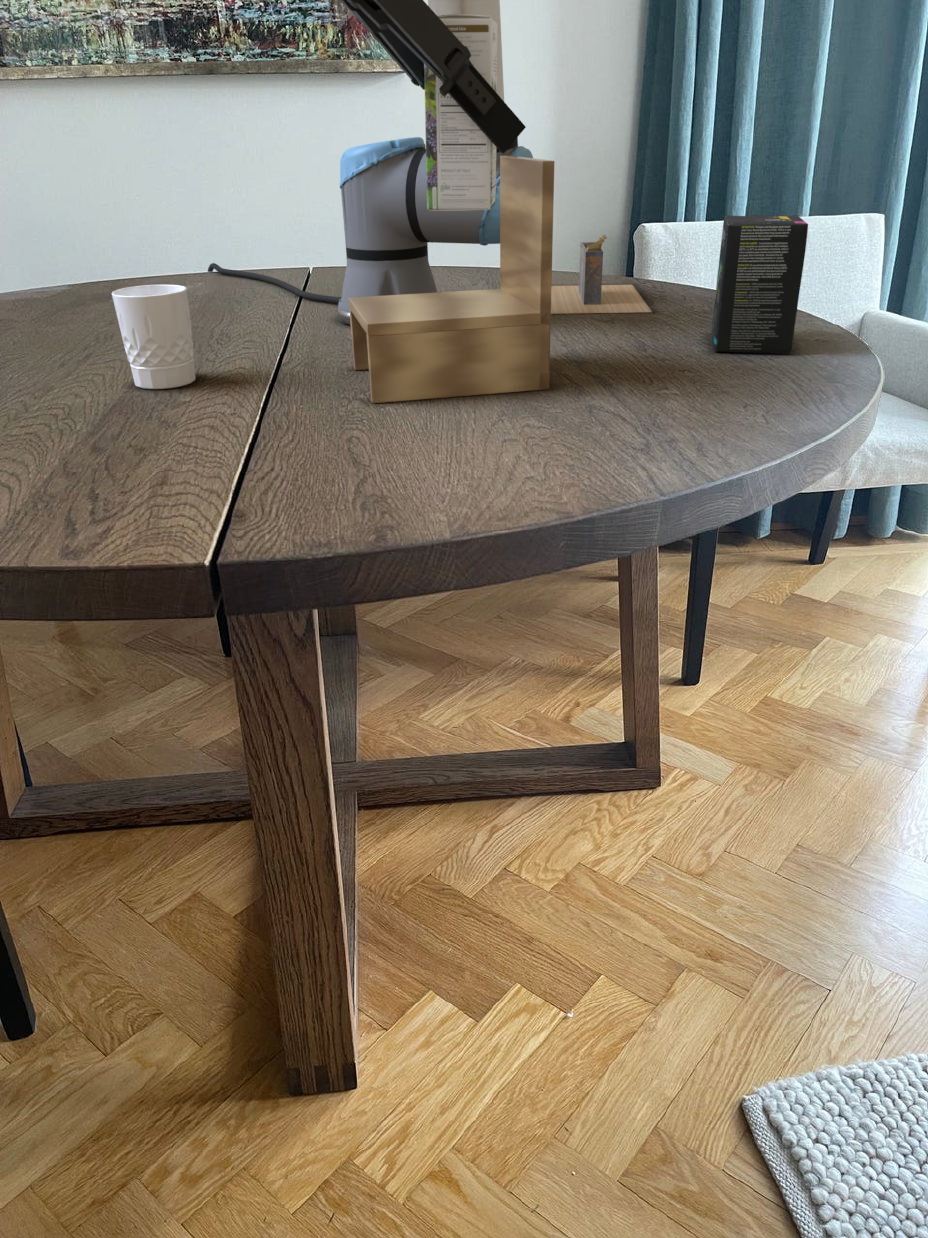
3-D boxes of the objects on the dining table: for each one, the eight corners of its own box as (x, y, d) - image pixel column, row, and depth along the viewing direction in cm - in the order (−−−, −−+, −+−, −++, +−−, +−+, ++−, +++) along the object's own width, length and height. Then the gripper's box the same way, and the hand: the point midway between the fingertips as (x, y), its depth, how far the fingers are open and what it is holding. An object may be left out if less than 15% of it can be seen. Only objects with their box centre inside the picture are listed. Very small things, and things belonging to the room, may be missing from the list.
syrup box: (435, 205, 86) (428, 20, 79) (498, 204, 86) (497, 17, 79) (426, 212, 81) (419, 14, 74) (494, 211, 81) (493, 11, 74)
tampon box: (792, 355, 111) (812, 222, 104) (713, 353, 113) (726, 222, 106) (783, 336, 120) (801, 213, 113) (710, 334, 122) (723, 213, 115)
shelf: (372, 403, 96) (356, 167, 85) (353, 368, 110) (338, 160, 99) (549, 389, 100) (554, 160, 89) (509, 356, 113) (510, 155, 103)
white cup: (214, 376, 108) (201, 285, 103) (174, 393, 101) (158, 297, 96) (156, 371, 110) (141, 283, 105) (114, 388, 103) (95, 294, 99)
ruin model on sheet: (652, 312, 136) (657, 241, 132) (540, 313, 137) (541, 243, 133) (632, 284, 158) (636, 222, 154) (536, 286, 159) (537, 224, 155)
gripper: (258, -36, 80) (448, 167, 91) (270, -76, 63) (502, 180, 74) (314, -112, 78) (501, 104, 89) (341, -174, 61) (568, 102, 72)
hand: (501, 138), depth 81 cm, fingers closed on syrup box, 7 cm apart
